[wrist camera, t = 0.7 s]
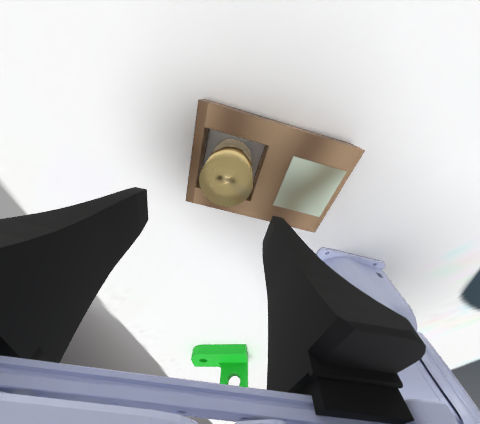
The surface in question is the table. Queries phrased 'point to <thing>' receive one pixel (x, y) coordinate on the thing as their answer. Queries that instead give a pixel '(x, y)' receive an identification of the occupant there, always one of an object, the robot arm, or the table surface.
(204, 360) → the mechanical part
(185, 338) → the table surface
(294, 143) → the pocket board
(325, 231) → the table surface
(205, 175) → the cylinder
